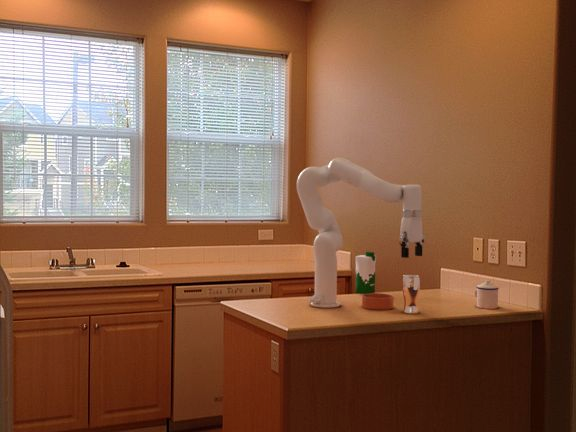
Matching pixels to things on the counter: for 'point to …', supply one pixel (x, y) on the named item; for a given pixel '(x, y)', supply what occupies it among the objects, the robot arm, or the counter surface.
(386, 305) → the bowl
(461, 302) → the counter surface
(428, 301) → the counter surface
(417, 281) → the beer glass
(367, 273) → the milk carton
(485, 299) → the teacup with lid
